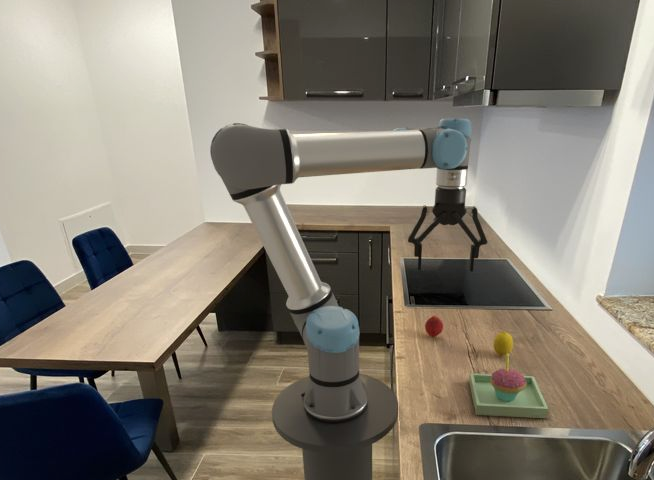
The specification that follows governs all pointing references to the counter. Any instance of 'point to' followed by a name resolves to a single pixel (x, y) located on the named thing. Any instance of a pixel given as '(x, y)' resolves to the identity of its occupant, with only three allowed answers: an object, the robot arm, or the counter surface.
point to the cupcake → (507, 383)
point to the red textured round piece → (434, 326)
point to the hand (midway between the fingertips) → (444, 269)
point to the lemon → (503, 343)
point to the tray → (522, 406)
